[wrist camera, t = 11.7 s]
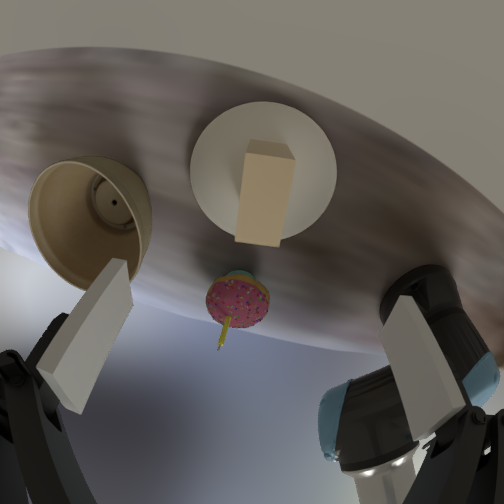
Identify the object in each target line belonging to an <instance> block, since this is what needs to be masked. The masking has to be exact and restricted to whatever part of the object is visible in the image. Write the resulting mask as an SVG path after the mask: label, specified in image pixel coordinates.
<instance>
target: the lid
mask: <svg viewBox="0 0 504 504" xmlns="http://www.w3.org/2000/svg"><path fill="white" fill-rule="evenodd" d="M190 180H191V186H192V190H193V193H194V196H195V198H196V200H197V202H198V204H199V206H200V207H201V209H202V211H203V212H204V213H205V214H206V216H207V217H208V218H209V219H210V220H211V221H212V222H213V223H214V224H216V225H217V226H218V227H220V228H221V229H223V230H224V231H226V232H228V233H230V234H232V235H234V236H235V242H242V243H250V244H258V245H265V246H272V247H279V245H280V240H281V239H285V238H288V237H291V236H293V235H296V234H298V233H300V232H302V231H303V230H305V229H306V228H308V227H309V226H311V225H312V224H313V223H314V222H315V221H316V220H317V219H318V218H319V217H320V216H321V215H322V214H323V212H324V211H325V209H326V208H327V206H328V205H329V203H330V200H331V198H332V196H333V193H334V190H335V186H336V180H337V165H336V158H335V154H334V151H333V148H332V146H331V143H330V141H329V140H328V138H327V136H326V134H325V133H324V132H323V130H322V129H321V128H320V127H319V126H318V125H317V124H316V123H315V122H314V121H313V120H312V119H311V118H310V117H308V116H307V115H306V114H304V113H302V112H301V111H299V110H297V109H295V108H293V107H290V106H287V105H284V104H280V103H275V102H251V103H246V104H242V105H239V106H236V107H233V108H231V109H229V110H227V111H225V112H224V113H222V114H221V115H219V116H218V117H216V118H215V119H214V120H213V121H212V122H211V123H210V124H209V125H208V126H207V127H206V128H205V129H204V131H203V132H202V134H201V135H200V137H199V138H198V140H197V142H196V145H195V147H194V149H193V153H192V156H191V162H190Z"/></svg>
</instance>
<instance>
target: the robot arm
mask: <svg viewBox="0 0 504 504" xmlns="http://www.w3.org/2000/svg"><path fill="white" fill-rule="evenodd" d="M132 307H133V300H132V295H131V288H130V282H129V275H128V268H127V260H122V259H116V258H112V259H111V260H110V262H109V263H108V264H107V265H106V267H105V268H104V269H103V270H102V272H101V273H100V274H99V275H98V277H97V278H96V279H95V281H94V282H93V283H92V284H91V286H90V287H89V288H88V290H87V291H86V292H85V294H84V295H83V296H82V298H81V299H80V301H79V302H78V303H77V305H76V306H75V307H74V309H73V310H72V312H71V313H70V315H69V314H66V313H61V314H60V315H58V316H57V317H56V318H54V319H53V321H52V322H51V323H50V325H49V326H48V328H47V330H45V332H44V333H43V335H42V337H41V338H40V339H39V341H38V342H37V344H36V345H35V347H34V348H33V350H32V351H31V353H30V355H29V356H28V358H27V359H26V361H25V362H24V360H23V359H22V357H21V355H20V354H19V353H18V352H17V351H15V350H6V351H4V352H1V353H0V504H29V503H28V498H27V492H26V487H27V491H28V493H29V496H30V499H31V501H32V503H33V504H97V503H96V501H95V499H94V497H93V495H92V493H91V491H90V489H89V487H88V485H87V483H86V481H85V479H84V477H83V474H82V472H81V470H80V467H79V465H78V463H77V460H76V458H75V455H74V453H73V450H72V447H71V445H70V442H69V439H68V436H67V433H66V431H65V427H64V424H63V421H62V418H61V414H60V411H59V409H58V407H57V406H58V404H59V402H61V403H62V404H63V405H64V407H65V408H67V409H69V410H72V411H74V412H76V413H78V414H82V411H83V409H84V407H85V404H86V402H87V400H88V397H89V395H90V393H91V390H92V388H93V386H94V384H95V381H96V379H97V377H98V375H99V373H100V371H101V368H102V366H103V364H104V362H105V360H106V358H107V356H108V354H109V352H110V350H111V348H112V346H113V344H114V342H115V340H116V338H117V336H118V334H119V332H120V330H121V328H122V326H123V324H124V322H125V320H126V318H127V316H128V314H129V313H130V311H131V309H132ZM380 318H381V321H382V323H383V326H384V327H383V328H382V330H381V332H380V334H379V336H380V338H381V341H382V344H383V346H384V349H385V352H386V355H387V357H388V360H389V363H390V365H388V366H385V367H383V368H381V369H379V370H376V371H374V372H371V373H369V374H366V375H364V376H361V377H359V378H357V379H354V380H353V379H350V380H348V381H347V382H346V383H344V384H341V385H339V386H336V387H334V388H331V389H329V390H328V391H327V392H326V393H325V394H324V395H323V397H322V399H321V402H320V407H319V413H318V432H319V440H320V445H321V450H322V451H323V452H324V457H325V458H326V460H328V461H333V462H337V461H339V463H340V466H341V471H342V472H343V473H345V474H347V475H349V476H351V477H353V478H354V479H355V484H356V488H357V493H358V497H359V502H360V504H504V409H501V410H500V411H499V412H498V413H497V414H495V415H486V414H485V412H484V411H483V409H482V408H481V407H482V405H484V404H485V403H486V402H487V400H488V399H489V398H490V397H491V395H492V394H493V393H494V391H495V390H496V388H497V386H498V384H499V380H500V372H499V369H498V367H497V365H496V363H495V360H494V358H493V353H492V352H491V351H490V350H489V349H488V347H487V345H486V344H485V342H484V340H483V339H482V337H481V335H480V334H479V332H478V331H477V329H476V328H475V326H474V325H473V323H472V322H471V320H470V319H469V317H468V316H467V314H466V313H465V311H464V310H463V307H462V303H461V300H460V296H459V293H458V290H457V285H456V282H455V280H454V279H453V277H452V276H451V275H450V273H449V272H448V271H447V270H446V269H445V268H443V267H441V266H438V265H426V266H422V267H419V268H416V269H414V270H412V271H410V272H408V273H407V274H405V275H404V276H402V277H401V278H400V279H399V280H398V281H397V282H396V283H395V284H394V285H393V286H392V287H391V288H390V289H389V291H388V292H387V294H386V295H385V297H384V299H383V301H382V304H381V308H380ZM434 432H435V434H436V437H434V438H433V439H432V440H430V441H429V442H428V443H427V444H425V445H424V446H423V447H422V449H425V448H426V447H428V446H429V445H430V447H429V448H428V449H427V450H426V451H427V454H426V457H425V459H424V461H423V463H422V466H421V468H420V470H419V472H418V474H417V476H416V475H415V470H414V465H413V461H412V457H413V455H414V453H415V451H416V450H417V448H418V447H419V440H421V439H425V438H427V437H429V436H430V435H431V434H432V433H434ZM490 446H491V451H490V452H489V453H488V454H486V455H485V454H484V450H486V449H487V448H489V447H490Z"/></svg>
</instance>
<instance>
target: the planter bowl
mask: <svg viewBox="0 0 504 504" xmlns="http://www.w3.org/2000/svg"><path fill="white" fill-rule="evenodd" d="M113 200H115V201H117V204H116V205H114V204H113V202H112V201H113ZM28 218H29V224H30V229H31V232H32V235H33V238H34V241H35V243H36V245H37V247H38V249H39V251H40V253H41V255H42V256H43V258H44V259H45V261H46V262H47V263H48V265H49V266H50V267H51V268H52V269H53V270H54V271H55V272H56V273H57V274H58V275H59V276H60V277H61V278H62V279H64V280H65V281H67V282H68V283H69V284H71V285H73V286H74V287H77V288H79V289H81V290H84V291H87V290H88V288H89V287H90V286H91V284H92V283H93V282H94V281H95V279H96V278H97V277H98V275H99V274H100V273H101V272H102V270H103V269H104V268H105V267H106V265H107V264H108V263H109V262H110V260H111V259H112V258H116V259H122V260H127V268H128V275H129V282H130V283H131V281H132V280H133V279H134V278H135V276H136V274H137V273H138V270H139V268H140V266H141V263H142V260H143V258H144V255H145V253H146V251H147V248H148V245H149V241H150V237H151V231H152V210H151V204H150V200H149V196H148V192H147V189H146V186H145V185H144V183H143V181H142V180H141V178H140V177H139V176H138V175H137V174H136V173H135V172H133V171H132V170H130V169H129V168H127V167H126V166H124V165H123V164H121V163H119V162H117V161H115V160H112V159H109V158H105V157H99V156H84V157H77V158H73V159H69V160H63V161H59V162H57V163H54V164H52V165H50V166H48V167H47V168H46V169H44V170H43V171H42V172H41V173H40V174H39V176H38V177H37V179H36V180H35V182H34V184H33V186H32V189H31V192H30V196H29V202H28Z"/></svg>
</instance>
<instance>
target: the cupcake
mask: <svg viewBox="0 0 504 504" xmlns="http://www.w3.org/2000/svg"><path fill="white" fill-rule="evenodd" d="M269 299H270V297H269V292H268V290H267V289H266V287H265V286H263V285H262V284H261V283H260V282H258V281H256V280H255V278H254V277H253V276H252V275H251V274H250V273H248V272H246V271H243V270H235V271H232V272H230V273H228V274H227V275H226V276H222V277H218V278H217V279H216V280H215V281H214V283H213V284H212V285H211V287H210V288H209V290H208V293H207V296H206V306H207V309H208V313H210V314H211V315H212V317H213V318H214V319H215V321H217V322H218V323H220V324H222V325H224V326H223V329H222V332H221V336H220V339H219V342H218V345H219V347H218V349H217V350H219V349H220V346H223V344H224V341H225V337H226V334H227V330H228V327H232V328H247V327H249V326H254V324H256V323H257V322H259V321H261V320H262V319H263V317H264V316H265V315H266V314H267V312H268V307H269ZM214 319H213V320H214Z"/></svg>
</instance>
